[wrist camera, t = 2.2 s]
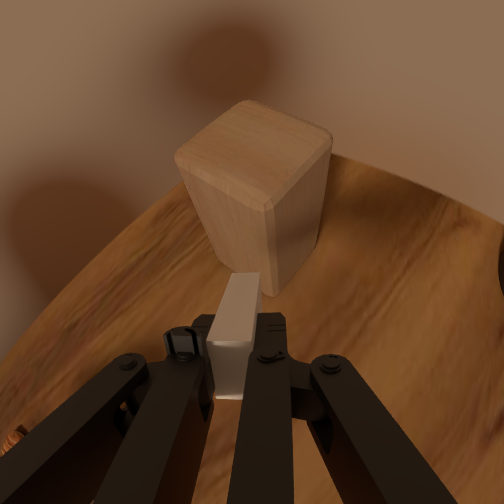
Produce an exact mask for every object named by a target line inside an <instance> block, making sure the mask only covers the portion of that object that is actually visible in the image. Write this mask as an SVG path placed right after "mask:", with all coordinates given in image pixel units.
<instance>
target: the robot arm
mask: <svg viewBox="0 0 504 504" xmlns="http://www.w3.org/2000/svg"><path fill="white" fill-rule="evenodd" d="M499 278H500V283H501V288H502V291H503V294H504V250H503V252H502V254H501V257H500V261H499ZM163 338H164V342H165V346H166V350H167V354H168V355H167V357H166V359H165V361H160V362H153V363H146V360H145V358H144V357H143V356H142V355H140V354H137V353H127V354H124V355H121V356H119V357H117V358H115V359H114V360H113V361H112V362H111V363H109V364H108V365H107V366H106V367H105V368H103V369H102V370H101V371H100V372H99V373H98V374H96V375H95V376H94V377H93V378H92V379H91V380H89V381H88V382H87V383H86V384H85V385H84V386H82V387H81V388H80V389H79V390H78V391H77V392H75V393H74V394H73V395H72V396H71V397H70V398H68V399H67V400H66V401H65V402H64V403H63V404H61V405H60V406H59V407H58V408H57V409H56V410H54V411H53V412H52V413H51V414H50V415H49V416H47V417H46V418H45V419H44V420H43V421H42V422H40V423H39V424H38V425H37V426H36V427H35V428H34V429H32V430H31V431H30V432H29V433H28V434H27V435H25V436H24V437H23V438H22V439H21V440H20V441H19V442H17V443H16V444H15V445H14V446H13V447H12V448H10V449H9V450H8V451H7V452H6V453H5V454H4V455H2V456H1V457H0V504H91V503H92V502H93V503H92V504H191V501H192V497H193V493H194V489H195V485H196V480H197V476H198V472H199V468H200V464H201V460H202V456H203V451H204V447H205V443H206V439H207V435H208V431H209V427H210V423H211V418H212V414H213V410H214V403H213V398H212V397H213V394H214V390H215V394H216V399H242V406H241V413H240V420H239V426H238V433H237V440H236V446H235V453H234V459H233V466H232V472H231V479H230V485H229V492H228V498H227V504H294V477H293V441H292V418H297V419H302V420H306V421H307V425H308V427H309V430H310V432H311V434H312V436H313V438H314V441H315V443H316V445H317V447H318V449H319V452H320V454H321V456H322V458H323V460H324V463H325V465H326V467H327V469H328V471H329V473H330V476H331V478H332V480H333V482H334V484H335V486H336V489H337V491H338V493H339V495H340V497H341V499H342V501H343V503H344V504H458V503H457V502H456V500H455V499H454V498H453V496H452V495H451V494H450V492H449V491H448V490H447V488H446V487H445V486H444V484H443V483H442V482H441V480H440V479H439V478H438V476H437V475H436V474H435V472H434V471H433V470H432V468H431V467H430V466H429V464H428V463H427V462H426V460H425V459H424V458H423V456H422V455H421V454H420V452H419V451H418V450H417V448H416V447H415V446H414V444H413V443H412V442H411V441H410V439H409V438H408V437H407V435H406V434H405V433H404V431H403V430H402V429H401V427H400V426H399V425H398V423H397V422H396V421H395V420H394V418H393V417H392V416H391V414H390V413H389V412H388V410H387V409H386V408H385V407H384V405H383V404H382V403H381V401H380V400H379V399H378V397H377V396H376V395H375V394H374V392H373V391H372V390H371V388H370V387H369V386H368V384H367V383H366V382H365V381H364V379H363V378H362V377H361V375H360V374H359V373H358V372H357V370H356V369H355V368H354V366H353V365H352V364H351V363H350V361H349V360H347V359H346V358H345V357H342V356H340V355H334V354H328V355H322V356H319V357H317V358H315V359H314V360H313V361H312V363H311V364H308V363H303V362H299V361H297V360H294V359H293V358H292V357H290V355H289V354H288V351H287V336H286V321H285V317H284V316H283V315H282V314H281V313H280V312H278V313H262V297H261V279H260V272H250V273H232V274H231V277H230V280H229V282H228V285H227V287H226V290H225V292H224V295H223V298H222V300H221V303H220V305H219V308H218V311H217V313H216V315H207V314H201V315H200V316H199V317H198V318H196V319H195V320H194V322H193V324H192V326H191V327H189V326H181V327H176V328H172V329H170V330H168V331H167V332H166V333H165V334H164V335H163ZM124 401H125V404H126V407H125V408H123V409H121V408H120V405H121V404H122V403H123V402H124ZM93 500H94V501H93Z"/></svg>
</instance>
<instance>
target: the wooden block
mask: <svg viewBox="0 0 504 504" xmlns="http://www.w3.org/2000/svg"><path fill="white" fill-rule="evenodd" d="M332 140H333V137H332V134H331V133H330V132H329V131H328V130H327V129H325V128H323V127H321V126H318V125H316V124H313V123H311V122H309V121H307V120H304V119H302V118H299V117H297V116H294V115H291V114H289V113H286V112H284V111H281V110H279V109H276V108H273V107H271V106H268V105H265V104H262V103H259V102H256V101H253V100H244V101H241V102H239V103H238V104H237V105H235V106H234V107H232V108H231V109H229V110H228V111H227V112H225V113H224V114H223V115H221V116H220V117H219V118H217V119H216V120H215V121H213V122H212V123H211V124H209V125H208V126H207V127H205V128H204V129H203V130H201V131H200V132H199V133H198V134H196V135H195V136H194V137H193V138H191V139H190V140H189V141H188V142H186V143H185V144H184V145H183V146H181V148H179V149H178V150H177V152H176V154H175V162H176V164H177V167H178V169H179V171H180V174H181V176H182V179H183V181H184V183H185V186H186V188H187V190H188V193H189V195H190V197H191V199H192V202H193V204H194V206H195V208H196V211H197V213H198V215H199V218H200V220H201V222H202V224H203V226H204V229H205V231H206V233H207V235H208V238H209V240H210V242H211V244H212V246H213V248H214V251H215V253H216V255H217V257H218V259H219V261H221V262H222V263H223V264H225V265H226V266H227V267H229V268H230V269H231V270H233V271H234V272H236V273H250V272H260V279H261V291H262V292H263V293H264V294H266V295H267V296H271V297H274V296H276V295H278V294H279V293H280V292H281V290H282V289H283V288H284V287H285V285H286V284H287V283H288V282H289V280H290V279H291V278H292V277H293V275H294V274H295V273H296V272H297V270H298V269H299V268H300V266H301V265H302V264H303V263H304V261H305V260H306V259H307V257H308V256H309V255H310V253H311V252H312V251H313V250H314V248H315V245H316V240H317V235H318V230H319V224H320V219H321V213H322V207H323V201H324V195H325V189H326V183H327V177H328V170H329V163H330V156H331V148H332V142H333V141H332Z"/></svg>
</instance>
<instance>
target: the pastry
mask: <svg viewBox="0 0 504 504" xmlns="http://www.w3.org/2000/svg"><path fill="white" fill-rule="evenodd" d="M23 437H24V435H23V434H22V433H20V432H17V431H15V430H13V431H11V432H10V434H9V435H8V436H7V437H6V441H5V442H4V446H3V448H2V450H1V451H2V453H3V454H2V455H4V454H5V453H6V452H7V451H8V450H9V449H10V448H12V447H13V446H14V445H15V444H16V443H17V442H19V441H20V440H21V439H22V438H23Z"/></svg>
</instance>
